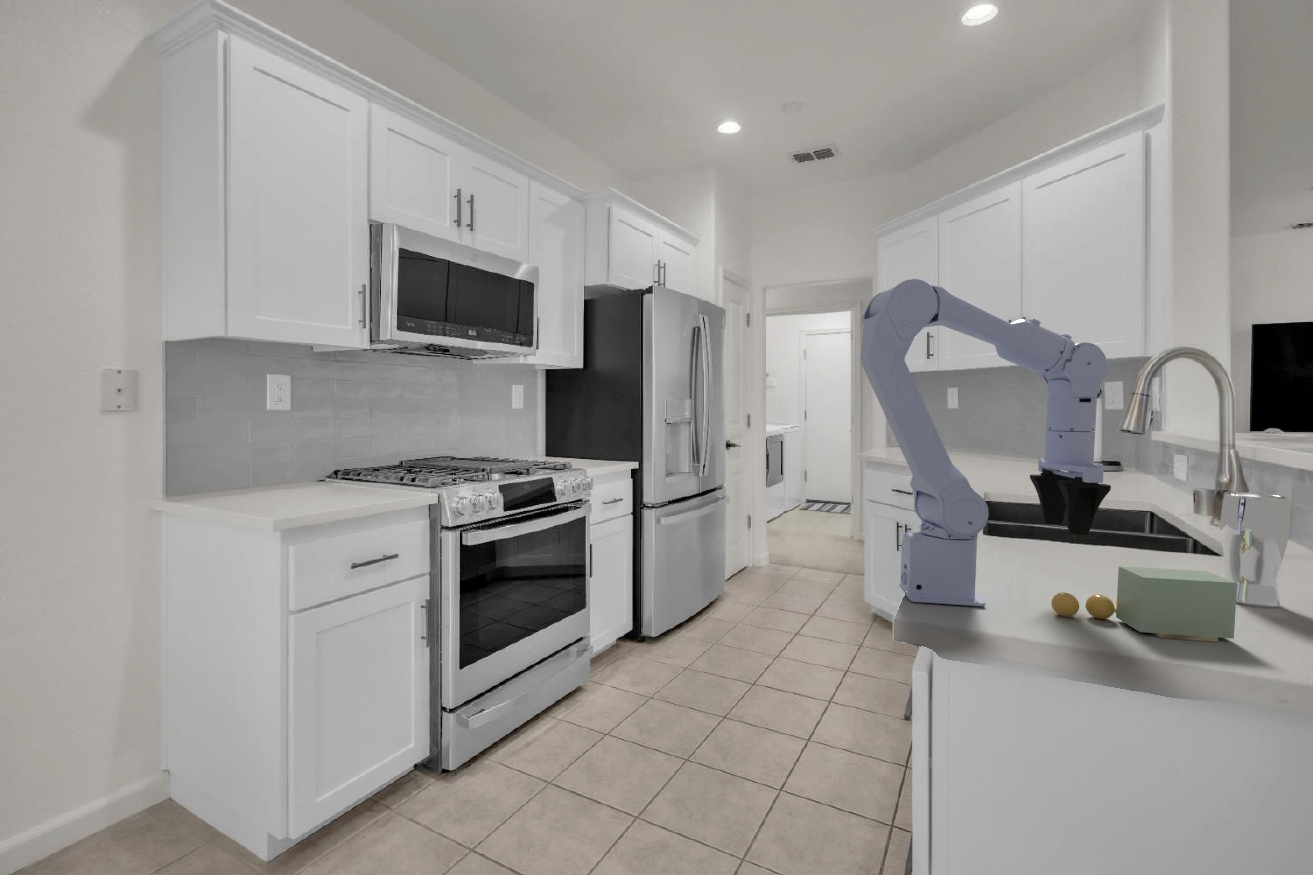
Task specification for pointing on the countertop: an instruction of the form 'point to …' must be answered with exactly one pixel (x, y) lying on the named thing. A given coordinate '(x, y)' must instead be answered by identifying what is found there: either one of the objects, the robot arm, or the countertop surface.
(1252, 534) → the beer glass
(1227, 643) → the countertop surface
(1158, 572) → the pale green block
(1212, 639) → the pad two
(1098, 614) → the marble
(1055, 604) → the marble
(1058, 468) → the robot arm
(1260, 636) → the countertop surface
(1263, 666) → the countertop surface
